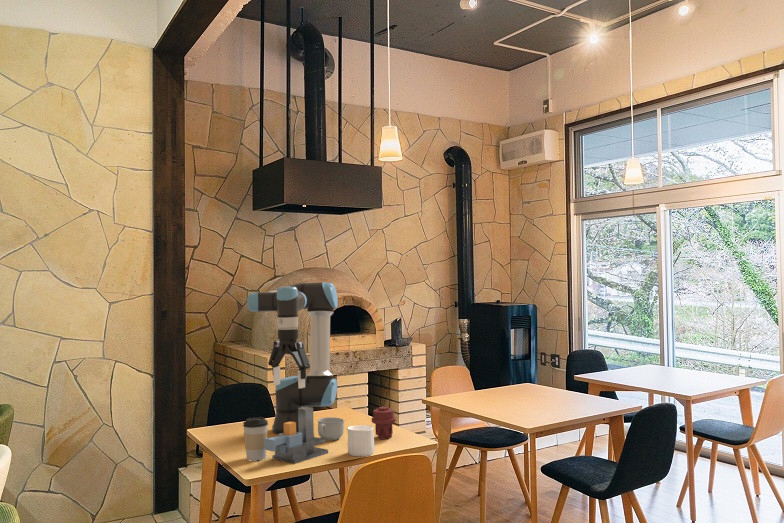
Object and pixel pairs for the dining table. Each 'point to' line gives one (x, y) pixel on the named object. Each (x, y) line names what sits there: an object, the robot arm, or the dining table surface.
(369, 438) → the cup
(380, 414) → the mechanical component
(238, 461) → the dining table surface
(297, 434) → the bracket
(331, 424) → the teacup
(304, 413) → the grey fixture stand
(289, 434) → the orange rectangular block
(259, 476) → the dining table surface
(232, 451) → the dining table surface
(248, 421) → the coffee cup
